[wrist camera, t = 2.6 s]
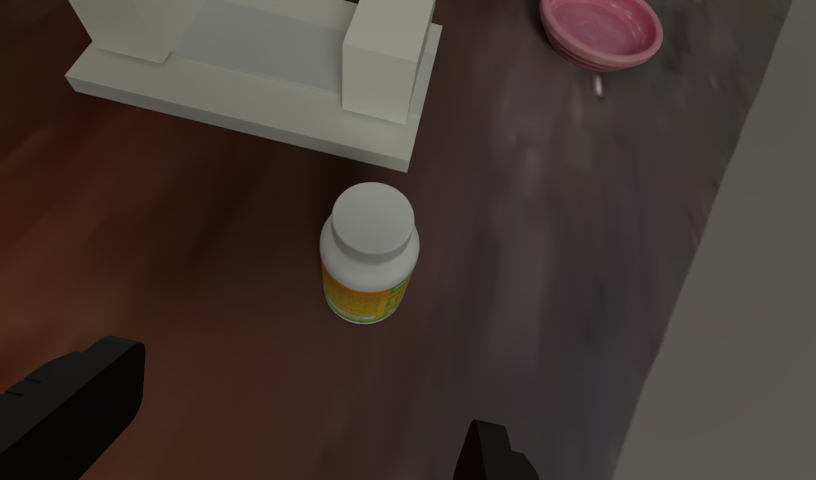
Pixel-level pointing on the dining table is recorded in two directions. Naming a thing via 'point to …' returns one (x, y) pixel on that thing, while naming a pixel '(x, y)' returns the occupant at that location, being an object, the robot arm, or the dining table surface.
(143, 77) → the rail panel
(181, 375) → the dining table surface
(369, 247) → the supplement bottle
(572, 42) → the saucer
